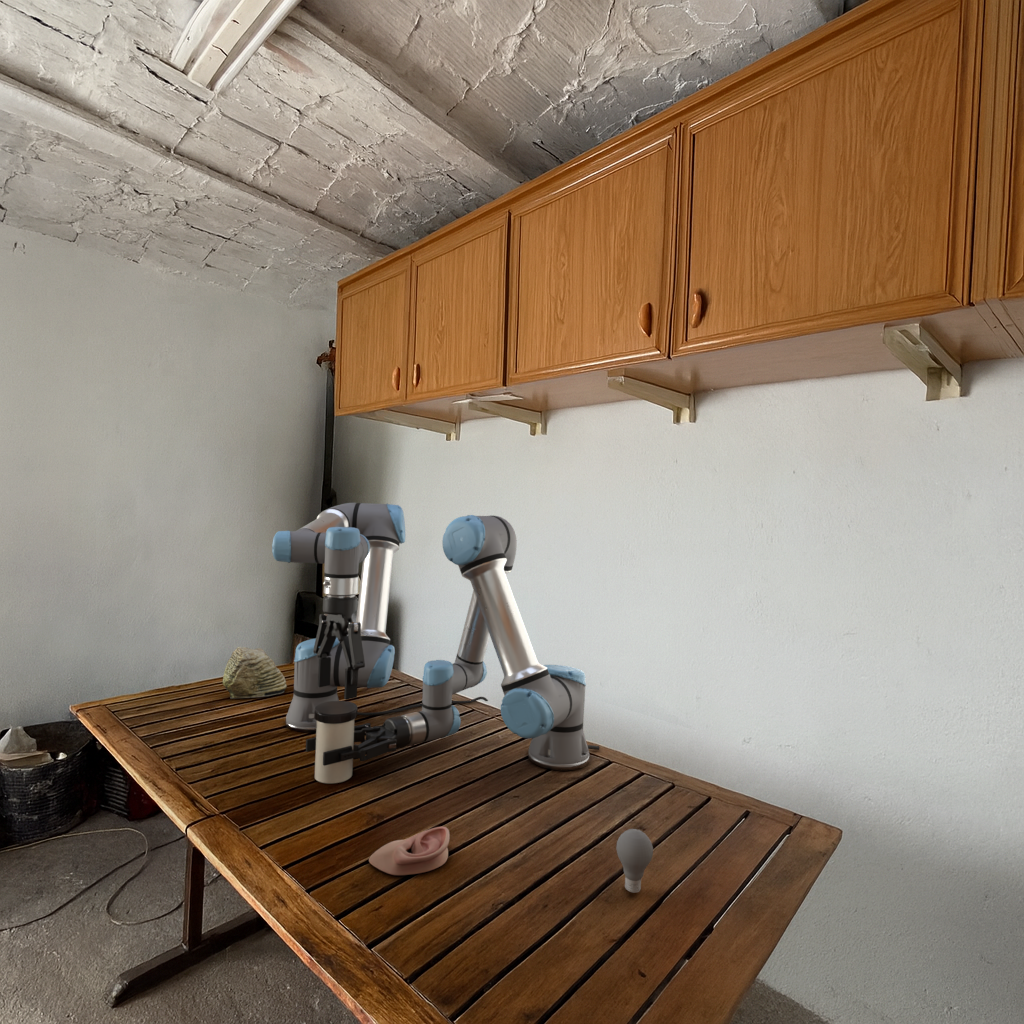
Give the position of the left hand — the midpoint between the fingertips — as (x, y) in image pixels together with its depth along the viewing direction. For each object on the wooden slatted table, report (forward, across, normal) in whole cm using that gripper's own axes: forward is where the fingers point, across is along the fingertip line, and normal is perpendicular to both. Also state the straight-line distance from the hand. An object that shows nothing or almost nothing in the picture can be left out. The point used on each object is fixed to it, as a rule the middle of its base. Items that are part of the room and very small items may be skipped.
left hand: (336, 691), depth 144 cm
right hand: (+13, 0, -5) cm, 14 cm away
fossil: (+19, -66, +11) cm, 70 cm away
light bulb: (+19, +71, +14) cm, 75 cm away
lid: (+4, 0, 0) cm, 4 cm away
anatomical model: (+19, +38, -7) cm, 43 cm away
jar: (+19, 0, 0) cm, 19 cm away
